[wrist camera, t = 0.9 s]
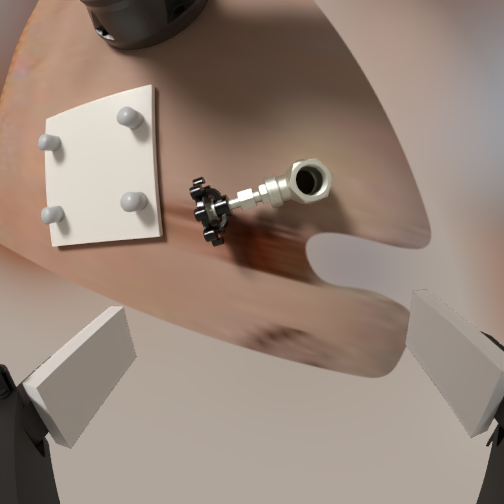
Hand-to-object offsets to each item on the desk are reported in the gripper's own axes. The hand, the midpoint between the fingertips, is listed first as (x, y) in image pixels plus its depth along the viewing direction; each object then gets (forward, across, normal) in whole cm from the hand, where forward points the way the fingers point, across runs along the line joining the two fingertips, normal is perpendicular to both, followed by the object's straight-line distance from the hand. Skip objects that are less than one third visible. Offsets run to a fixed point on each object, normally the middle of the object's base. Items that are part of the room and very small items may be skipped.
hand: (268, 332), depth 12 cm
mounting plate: (+19, -19, +10) cm, 29 cm away
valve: (+19, 0, +5) cm, 20 cm away
